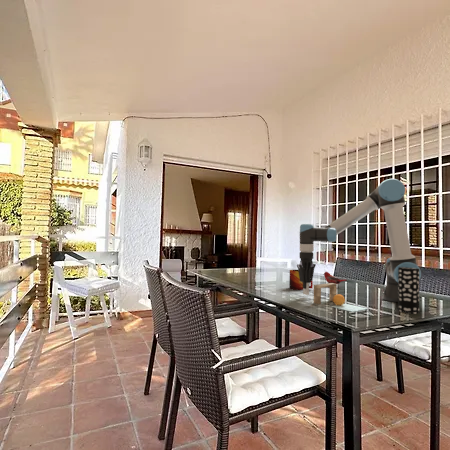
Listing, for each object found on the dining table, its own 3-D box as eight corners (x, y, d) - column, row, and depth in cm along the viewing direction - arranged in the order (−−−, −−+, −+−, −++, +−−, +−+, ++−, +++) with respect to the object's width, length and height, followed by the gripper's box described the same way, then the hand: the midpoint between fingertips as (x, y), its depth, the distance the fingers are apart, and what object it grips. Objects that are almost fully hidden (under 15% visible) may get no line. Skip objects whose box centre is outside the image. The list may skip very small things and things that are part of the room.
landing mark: (368, 309, 144) (368, 308, 144) (352, 312, 137) (352, 311, 137) (345, 304, 154) (345, 303, 154) (330, 306, 147) (330, 306, 147)
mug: (312, 290, 193) (313, 271, 193) (291, 290, 193) (291, 271, 193) (308, 287, 202) (308, 269, 203) (287, 287, 202) (288, 269, 203)
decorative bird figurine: (324, 285, 214) (324, 271, 215) (348, 289, 201) (348, 273, 201) (321, 285, 212) (322, 271, 213) (346, 289, 199) (346, 274, 200)
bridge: (336, 301, 160) (336, 283, 160) (318, 304, 152) (318, 285, 153) (331, 300, 163) (331, 283, 163) (313, 303, 155) (313, 284, 155)
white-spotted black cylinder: (394, 309, 145) (394, 267, 145) (410, 309, 145) (410, 267, 146) (406, 313, 136) (406, 269, 137) (423, 313, 137) (423, 269, 138)
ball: (336, 299, 155) (343, 307, 151) (329, 300, 152) (336, 308, 148) (341, 291, 153) (349, 299, 149) (334, 292, 150) (342, 300, 146)
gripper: (309, 251, 176) (308, 292, 175) (293, 251, 169) (292, 294, 168) (319, 252, 170) (319, 294, 169) (303, 252, 163) (302, 296, 162)
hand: (306, 294), depth 168 cm, fingers closed
